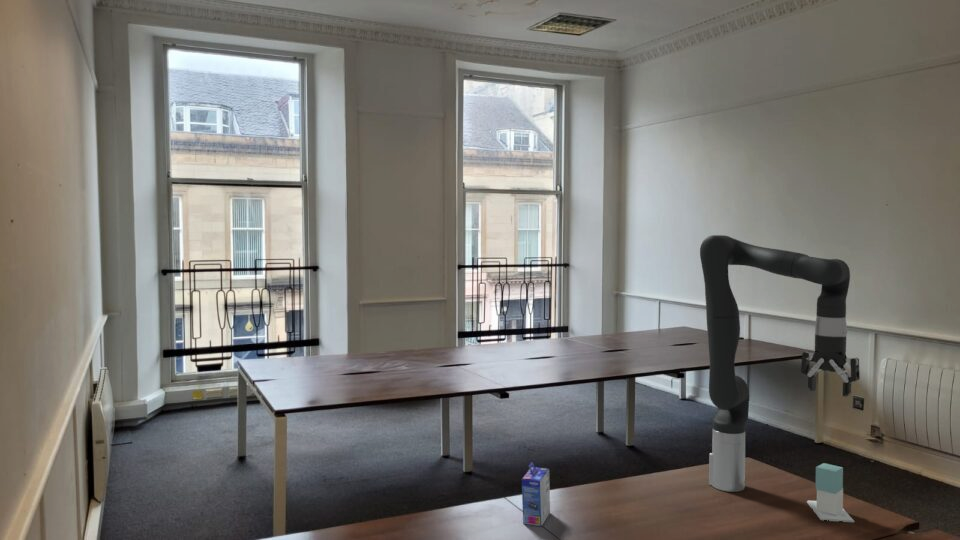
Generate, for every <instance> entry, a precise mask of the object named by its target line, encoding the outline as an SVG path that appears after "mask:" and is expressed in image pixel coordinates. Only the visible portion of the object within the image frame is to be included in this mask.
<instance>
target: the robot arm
mask: <svg viewBox="0 0 960 540" xmlns="http://www.w3.org/2000/svg"><path fill="white" fill-rule="evenodd" d="M699 258H700V263H701V264H700V265H701V268H702V273H703V275H702V276H703V283H704V294H705V309H706V312H705V314H706V329H707V338H708V339H707V341H708V355H709V376H708V377H709V378H708V393H709V399H710V401H711V402H712V404H713V405H714V406H715V407H716V408H717V412H716V414H715V416H714V417H713V419H712V436H711V437H712V441H711V442H712V443H711V447H712V448H711V449H712V450H711V451H712V452H710V453H709V454H708V456H709V457H708V472H709V473H708V485H709V486H712V487H713V488H714V489H716V490H720V491H723V492H731V493H735V492H737V493H739V492H742V491H744V490H745V487H746V486H745V484H746V478H745V476H746V425H747V423H748V419H749V410H750V409H749V406H750V390H749V386H748V384H747V382H746V381H745V379H743V378H742V377H741V376H739V375H736V368H735V367H736V366H735V359H736V353H737V350H738V346H739V342H740V337H741V322H740V309H739V306H738V304H737V300H736V298H735V296H734V293H733V290H732V288H731V285H730V279H729V278H730V277H729V266H747V267H750V268H751V267H752V268H756V269H760V270H763V271H765V272H769V273H772V274H775V275H779V276H784V277H787V278H792V279H801V280H804V281H807V282H810V283H814V284H818V285H821V291H820V294H819V296H818V297H817V299H816V318H815V325H814V352H810V351H803V352H802V353H801V366H800V367H801V368H800V373H801V374H804V375H806V377H807V388H808V389H809V391H811V392H814V391H816V389H817V376H816V375H817V374H818V373H819V372H820V371H824V372H826V371H828V372H831V373H835V372H836V373H837V375H839V376H840V378H841V380H843V382H842V397H844V398H845V397H848V396H850V395H851V393H852V382H856V381H857V382H858V381H859V380H860V376H861V375H860V359H859V358H858V357H847V354H846V353H847V334H848V329H847V327H848V326H847V296H848V292H849V287H850V281H851V271H850V266H849V265H848V264H847V263H846V262H845V261H844V260H841V259H839V258H829V259H828V258H823V257H821V258H820V257H814V256H809V255H808V254H804V253H800V252H797V251H795V252H794V251H790V250H785V249H777V248H770V247H763V246H758V245H754V244H751V243H747V242H745V241H742V240H738V239H736V238H733V237H731V236H729V235H722V234H721V235H719V234H718V235H717V234H716V235H715V234H714V235H713V234H712V235H709V236H707V237H706V238H704V240H703V241H702V243H701V244H700V248H699ZM812 359H813V360H814V361H815V364H814V365H813V367H811V369H810V365H811V360H812ZM846 364H848V366H849V367H850V373H849V370H848V369H847V367H846V366H845V365H846Z"/></svg>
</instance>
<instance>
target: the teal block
mask: <svg viewBox="0 0 960 540" xmlns="http://www.w3.org/2000/svg"><path fill="white" fill-rule="evenodd" d="M843 478H844V467H842V466H838V465H834V464H830V463H826V462H825V463H824V462H823V463H821V464H819V465H818V466H815V490H817V489H818V490H821V491H825V492H829V493H833V494H836V493H838V492H839V491H841V490H843V491H844V487H843V486H844V485H843V484H844V483H843V482H844V479H843Z"/></svg>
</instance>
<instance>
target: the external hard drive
mask: <svg viewBox="0 0 960 540" xmlns="http://www.w3.org/2000/svg"><path fill="white" fill-rule="evenodd" d="M806 503H807V504H808V506H809V507H810V508H811V510H812V509H813V510H812V511H813V512H814V513H815V515H816V516H817V517H818V518H819V520H820V521H824V520H827V521H828V520H829V521H828V522H839V521H843V523H855V520H854V519H853V518H852V516H850V515H849V513H848V512H847V511H846V510H845V509H844V508H843V510H842V511H841V512H840V513H839V514H837V515H833V514H830V513H826V512H822V511H819V510H817V500H807V501H806ZM827 521H826V522H827Z"/></svg>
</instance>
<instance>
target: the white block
mask: <svg viewBox="0 0 960 540" xmlns="http://www.w3.org/2000/svg"><path fill="white" fill-rule="evenodd" d="M816 501H817V510H819V511H822V512H826V513H830V514H833V515H837V514H839V513H840V512H841V511H842V510H843V509H844V489H843V490H841V491H839V492H838V493H836V494H833V493H829V492H825V491H821V490H818V489H816Z"/></svg>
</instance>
